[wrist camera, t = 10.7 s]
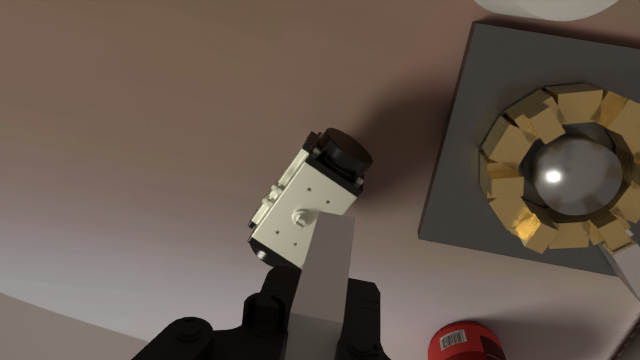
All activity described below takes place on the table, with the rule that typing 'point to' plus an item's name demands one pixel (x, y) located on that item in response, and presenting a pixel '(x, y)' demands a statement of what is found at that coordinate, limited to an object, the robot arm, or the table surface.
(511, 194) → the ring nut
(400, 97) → the table surface
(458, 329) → the canned food
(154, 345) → the robot arm
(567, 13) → the white cylinder
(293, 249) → the pneumatic valve
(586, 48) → the base plate
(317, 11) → the table surface
